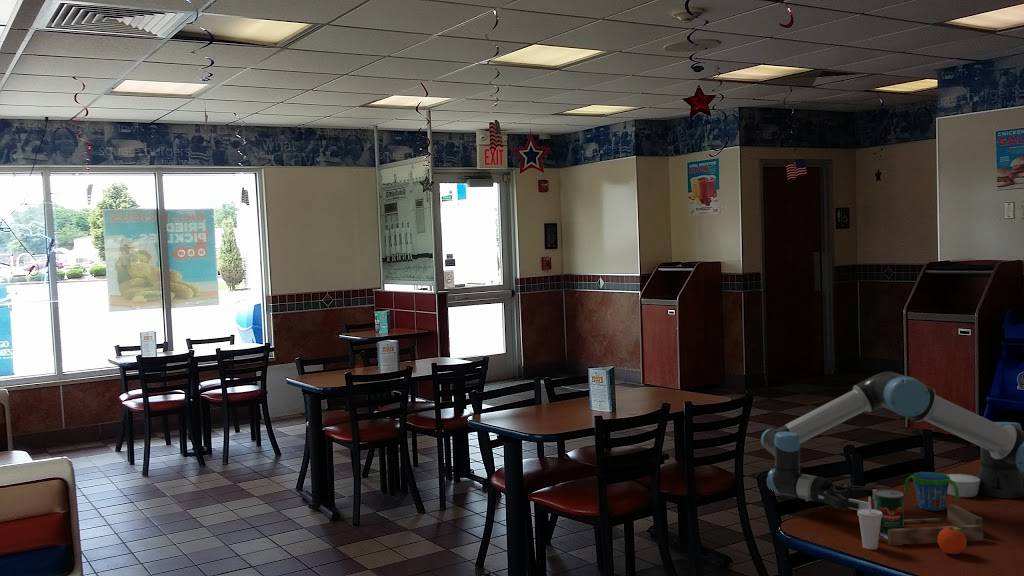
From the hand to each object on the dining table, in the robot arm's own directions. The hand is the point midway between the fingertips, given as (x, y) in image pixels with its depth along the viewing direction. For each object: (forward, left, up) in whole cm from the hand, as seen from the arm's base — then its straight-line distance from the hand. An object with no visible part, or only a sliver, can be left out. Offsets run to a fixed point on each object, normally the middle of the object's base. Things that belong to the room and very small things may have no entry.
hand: (883, 503), depth 255 cm
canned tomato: (-1, +1, -8) cm, 8 cm away
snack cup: (-25, -19, -8) cm, 33 cm away
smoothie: (+10, +12, -8) cm, 18 cm away
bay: (-10, +2, -8) cm, 13 cm away
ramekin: (-43, -33, -9) cm, 55 cm away
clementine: (-9, +20, -8) cm, 24 cm away
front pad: (-2, +2, -8) cm, 9 cm away
